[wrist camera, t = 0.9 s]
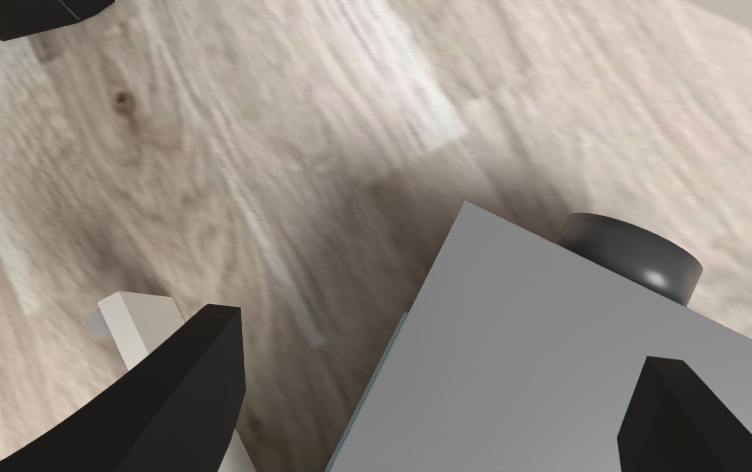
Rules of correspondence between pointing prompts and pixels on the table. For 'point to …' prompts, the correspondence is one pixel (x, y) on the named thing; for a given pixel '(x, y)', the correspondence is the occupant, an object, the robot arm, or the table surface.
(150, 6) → the table surface
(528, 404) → the camera housing
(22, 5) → the portable radio
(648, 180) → the table surface
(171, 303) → the side door
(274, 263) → the table surface
